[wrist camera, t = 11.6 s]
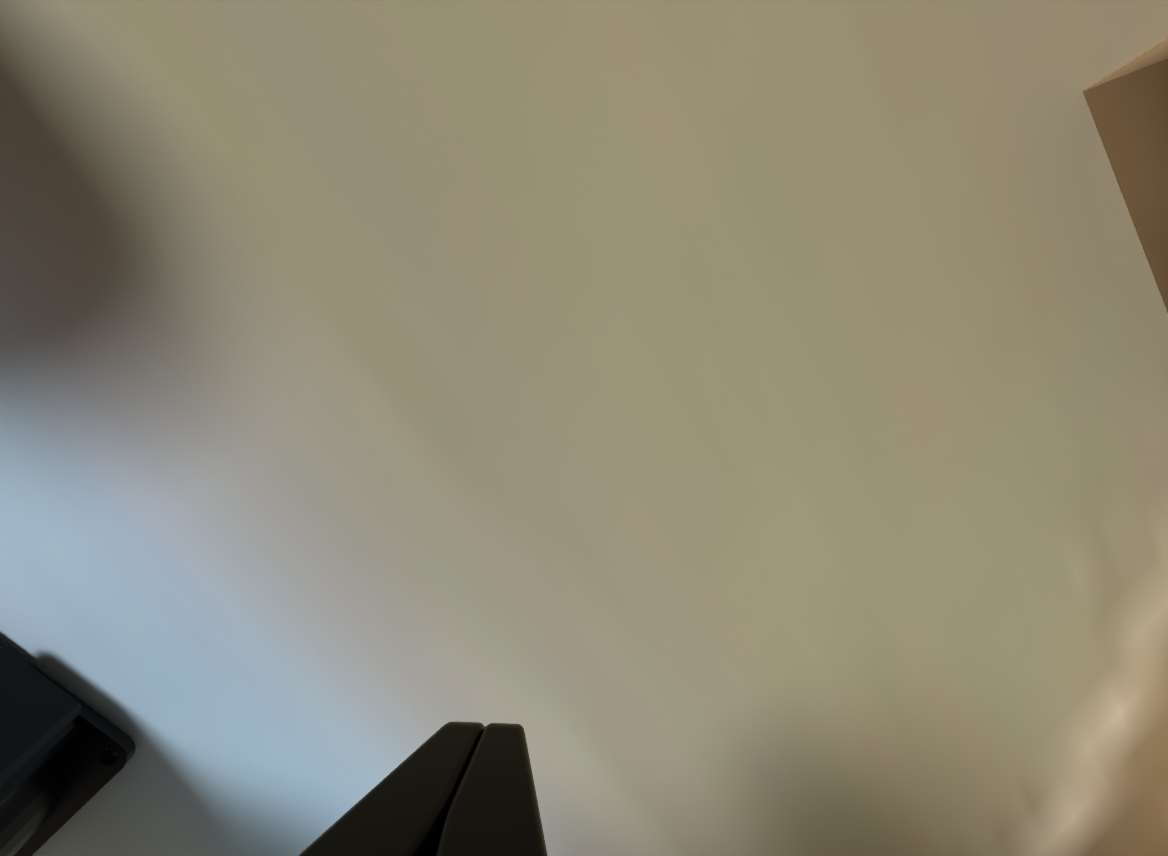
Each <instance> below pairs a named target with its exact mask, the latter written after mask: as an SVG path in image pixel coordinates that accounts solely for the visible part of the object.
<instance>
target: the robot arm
mask: <svg viewBox="0 0 1168 856" xmlns="http://www.w3.org/2000/svg"><path fill="white" fill-rule="evenodd" d="M107 749H111V750H113V751H115V753H116V754H117V755H116V756H115V755H112V754H110V753H109V752H108V750H107ZM134 753H135V744H134V741H133V740H132V739H131V738H130V737H129V736H128V735H127V734H126V733H124V732H123V731H122V730H120V729H119V728H118V727H116V726H115V725H114V724H112V723H111V722H110V721H108V720H107V719H106V718H104V717H103V716H102V715H100V714H99V713H98V712H96V711H95V710H94V709H92V708H91V707H90V706H88V705H87V704H86V703H84V702H83V701H82V700H80V699H79V698H77V697H76V696H75V695H73V694H72V693H71V692H69V691H68V690H67V689H65V688H64V687H63V686H61V685H60V684H59V683H57V682H56V681H55V680H53V679H52V678H51V677H49V676H48V675H47V674H45V673H44V672H43V671H41V670H40V669H39V668H37V667H36V666H35V665H33V664H32V663H31V662H29V661H28V660H26V659H25V658H24V657H22V656H21V655H20V654H18V653H17V652H16V651H14V650H13V649H12V648H10V647H9V646H8V645H6V644H5V643H4V642H2V641H1V640H0V856H32V855H33V854H34V853H35V852H36V851H37V850H38V849H39V848H40V847H41V846H42V845H43V844H44V843H45V842H46V841H47V840H48V839H49V838H50V837H51V836H52V835H53V834H54V833H55V832H57V831H58V830H59V829H60V828H61V827H62V826H63V825H64V824H65V823H66V822H67V821H68V820H69V819H70V818H71V817H72V816H73V815H74V814H75V813H76V812H77V811H78V810H79V809H80V808H81V807H83V806H84V805H85V804H86V803H87V802H88V801H89V800H90V799H91V798H92V797H93V796H94V795H95V794H96V793H97V792H98V791H99V790H100V789H101V788H102V787H103V786H104V785H105V784H106V783H107V782H109V781H110V780H111V779H112V778H113V777H114V776H115V775H116V774H117V773H118V772H119V771H120V770H121V769H122V768H123V767H124V766H125V765H126V763H127V762H128V761H129V760H130V759H131V758H132V756H133V755H134ZM298 856H547V850H546V845H545V840H544V834H543V829H542V824H541V818H540V813H539V807H538V802H537V797H536V791H535V786H534V780H533V775H532V770H531V764H530V759H529V754H528V748H527V743H526V737H525V732H524V728H523V727H522V726H521V725H520V724H505V723H490V724H489V725H487V726H486V727H485V726H484V725H483V724H481V723H478V722H449V723H447V724H445V725H444V726H443V727H441V728H440V729H439V730H438V731H437V732H436V733H435V734H434V735H433V736H431V737H430V738H429V739H428V740H427V741H426V742H425V743H424V744H422V745H421V746H420V747H419V748H418V749H417V750H416V751H415V752H414V753H412V754H411V755H410V756H409V757H408V758H407V759H406V760H405V761H403V762H402V763H401V764H400V765H399V766H398V767H397V768H396V769H395V770H393V771H392V772H391V773H390V774H389V775H388V776H387V777H386V778H384V779H383V780H382V781H381V782H380V783H379V784H378V785H377V786H376V787H374V788H373V789H372V790H371V791H370V792H369V793H368V794H367V795H366V796H364V797H363V798H362V799H361V800H360V801H359V802H358V803H357V804H355V805H354V806H353V807H352V808H351V809H350V810H349V811H348V812H347V813H345V814H344V815H343V816H342V817H341V818H340V819H339V820H338V821H336V822H335V823H334V824H333V825H332V826H331V827H330V828H329V829H328V830H326V831H325V832H324V833H323V834H322V835H321V836H320V837H319V838H317V839H316V840H315V841H314V842H313V843H312V844H311V845H310V846H309V847H307V848H306V849H305V850H304V851H303V852H302V853H301V854H300V855H298Z"/></svg>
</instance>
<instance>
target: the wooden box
mask: <svg viewBox="0 0 1168 856" xmlns="http://www.w3.org/2000/svg"><path fill="white" fill-rule="evenodd" d="M1083 93H1084V96H1085V98H1086V101H1087V103H1088V106H1089V109H1090V111H1091V114H1092V116H1093V119H1094V122H1095V124H1096V127H1097V130H1098V132H1099V135H1100V137H1101V140H1102V143H1103V145H1104V148H1105V150H1106V153H1107V156H1108V158H1109V161H1110V163H1111V166H1112V169H1113V171H1114V174H1115V176H1116V179H1117V182H1118V184H1119V187H1120V189H1121V192H1122V195H1123V197H1124V200H1125V202H1126V205H1127V208H1128V210H1129V213H1130V215H1131V218H1132V221H1133V223H1134V226H1135V228H1136V231H1137V234H1138V236H1139V239H1140V242H1141V244H1142V247H1143V249H1144V252H1145V255H1146V257H1147V260H1148V262H1149V265H1150V268H1151V270H1152V273H1153V275H1154V278H1155V281H1156V283H1157V286H1158V288H1159V291H1160V294H1161V296H1162V299H1163V301H1164V304H1165V307H1166V309H1167V312H1168V39H1167V40H1165V41H1164V42H1162V43H1160V44H1159V45H1157V46H1156V47H1154V48H1152V49H1151V50H1149V51H1147V52H1146V53H1144V54H1143V55H1141V56H1139V57H1138V58H1136V59H1135V60H1133V61H1131V62H1130V63H1128V64H1126V65H1125V66H1123V67H1122V68H1120V69H1118V70H1117V71H1115V72H1113V73H1112V74H1110V75H1109V76H1107V77H1105V78H1104V79H1102V80H1100V81H1099V82H1097V83H1096V84H1094V85H1092V86H1091V87H1089V88H1088V89H1086V90H1084V91H1083Z"/></svg>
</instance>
